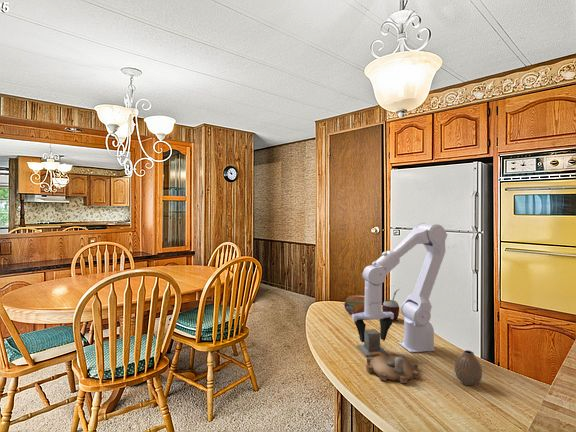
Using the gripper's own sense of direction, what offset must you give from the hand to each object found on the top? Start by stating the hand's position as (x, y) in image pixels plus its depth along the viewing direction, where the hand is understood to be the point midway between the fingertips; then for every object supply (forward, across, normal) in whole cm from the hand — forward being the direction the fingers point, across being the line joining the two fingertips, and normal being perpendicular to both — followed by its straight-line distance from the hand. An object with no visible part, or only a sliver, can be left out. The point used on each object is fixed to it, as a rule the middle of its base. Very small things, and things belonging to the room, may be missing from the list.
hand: (372, 340), depth 116 cm
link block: (+3, 0, 0) cm, 3 cm away
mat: (+4, 0, 0) cm, 4 cm away
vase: (+4, -18, +24) cm, 30 cm away
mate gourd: (+4, -22, -28) cm, 36 cm away
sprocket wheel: (+4, 0, +14) cm, 14 cm away
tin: (+4, -12, -38) cm, 40 cm away
